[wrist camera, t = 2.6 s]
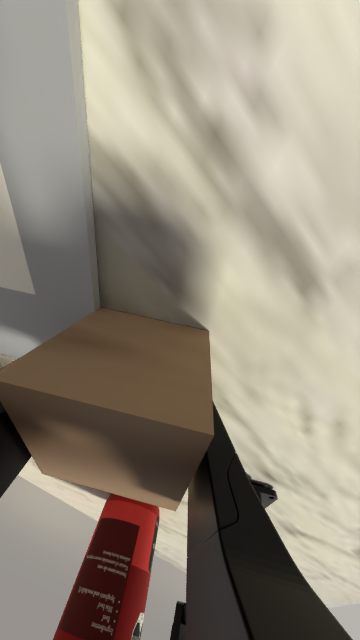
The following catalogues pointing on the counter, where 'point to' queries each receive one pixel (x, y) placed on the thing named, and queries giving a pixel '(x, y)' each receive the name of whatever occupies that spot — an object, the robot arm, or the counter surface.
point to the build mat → (43, 176)
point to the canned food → (113, 575)
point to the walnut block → (116, 405)
